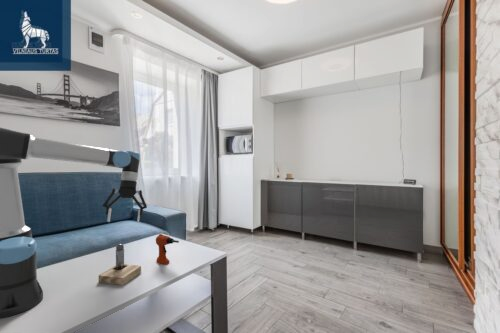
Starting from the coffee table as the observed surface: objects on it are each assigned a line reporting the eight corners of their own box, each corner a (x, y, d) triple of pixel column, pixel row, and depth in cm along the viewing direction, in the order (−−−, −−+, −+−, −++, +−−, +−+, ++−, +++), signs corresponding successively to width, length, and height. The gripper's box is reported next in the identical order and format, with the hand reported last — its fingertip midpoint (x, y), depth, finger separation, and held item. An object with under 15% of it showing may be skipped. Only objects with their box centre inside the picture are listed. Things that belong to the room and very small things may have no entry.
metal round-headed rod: (114, 274, 109) (113, 245, 108) (119, 270, 112) (119, 242, 112) (120, 275, 108) (120, 245, 108) (125, 271, 111) (125, 243, 111)
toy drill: (176, 268, 112) (173, 236, 113) (154, 263, 123) (152, 234, 124) (184, 265, 116) (182, 234, 117) (162, 260, 127) (160, 232, 128)
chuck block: (98, 282, 102) (98, 275, 102) (118, 269, 114) (118, 263, 114) (123, 284, 100) (122, 277, 100) (141, 272, 112) (141, 265, 112)
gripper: (154, 182, 132) (150, 221, 128) (103, 179, 124) (97, 220, 120) (154, 181, 125) (149, 222, 121) (100, 177, 117) (93, 221, 113)
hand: (123, 221), depth 121 cm, fingers open, 13 cm apart
